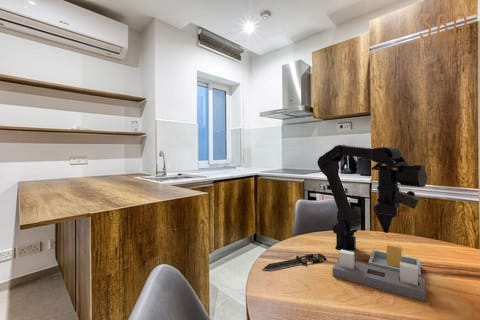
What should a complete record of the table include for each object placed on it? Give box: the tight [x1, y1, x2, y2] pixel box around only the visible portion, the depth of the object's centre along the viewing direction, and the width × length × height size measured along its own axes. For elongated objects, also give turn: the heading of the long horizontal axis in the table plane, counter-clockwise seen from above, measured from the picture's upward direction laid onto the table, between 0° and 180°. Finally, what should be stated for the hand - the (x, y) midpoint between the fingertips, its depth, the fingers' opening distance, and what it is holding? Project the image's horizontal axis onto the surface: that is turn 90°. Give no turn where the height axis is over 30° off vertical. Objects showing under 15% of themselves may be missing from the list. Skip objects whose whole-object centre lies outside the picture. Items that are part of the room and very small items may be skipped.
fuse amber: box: [386, 242, 403, 268], centre depth 76 cm, size 4×2×7 cm, turn 53°
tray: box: [367, 249, 422, 278], centre depth 77 cm, size 14×12×2 cm
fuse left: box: [339, 249, 356, 270], centre depth 74 cm, size 4×2×7 cm, turn 53°
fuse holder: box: [332, 257, 427, 303], centre depth 69 cm, size 23×8×2 cm, turn 53°
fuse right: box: [400, 262, 418, 286], centre depth 64 cm, size 4×2×7 cm, turn 53°
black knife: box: [261, 253, 327, 272], centre depth 82 cm, size 25×6×1 cm, turn 103°
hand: (387, 228), depth 79 cm, fingers open, 9 cm apart
